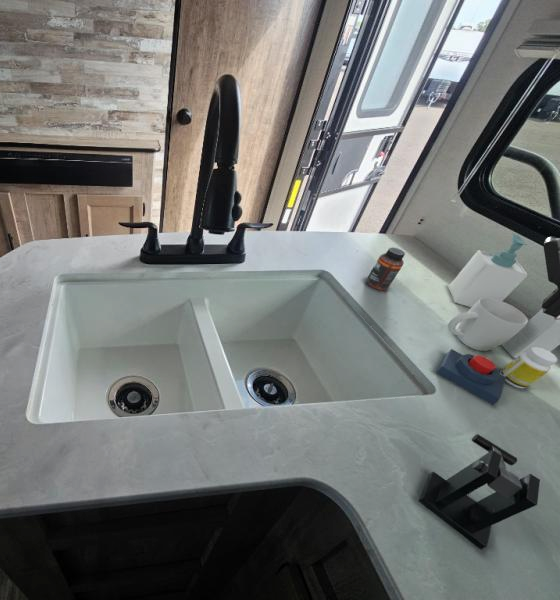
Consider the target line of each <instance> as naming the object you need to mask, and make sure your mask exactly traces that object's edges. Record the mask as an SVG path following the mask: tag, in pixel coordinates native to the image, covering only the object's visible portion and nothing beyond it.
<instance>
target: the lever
mask: <svg viewBox="0 0 560 600" xmlns="http://www.w3.org/2000/svg"><path fill="white" fill-rule="evenodd" d="M471 442H472V443H474V444H476V445H477V446H478V447H481V448H482V449H484V450H485V451H487V453H489V452H490V451H492V450H494V451H495V452H497V453H498V454H500V455H501V460H500V464H499V469H498V473H497V478H496V479H494V480H492V481H490V482H489V483H487V484H486V485H487V487H488V488H490V489H491V490H493V491H494V492H497V493H499V494H500V495H502V496H503V497H505V498H506V499H509V498H511V497H512V496H513V495H514V494H516V493H517V492H518V491H519V490H521V489H522V486H521V483H520V480H519V479H520V478H519V476H518V475H516V474H514V473H512V472H511V471H509V470H508V469H507V467H506V464H507V465H509V466H514V465H515V464H516V463H517V462H518V458H517V457H516V456H514V455H513V454H512V453H510V452H508V451H506V450H505V449H503V448H501V447H499V446H498V445H497V444H495V443H493V442H491V441H490V440H488V439H486V438H485V437H484V436H483V435H480V434H479V433H476V434H475V435H474V436H472V438H471Z"/></svg>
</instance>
